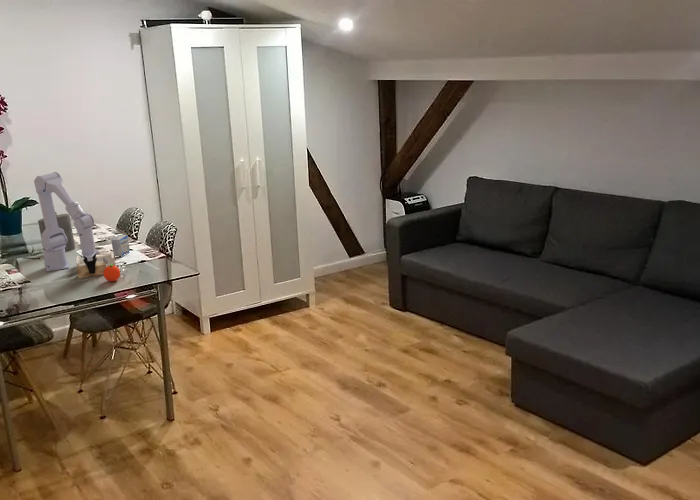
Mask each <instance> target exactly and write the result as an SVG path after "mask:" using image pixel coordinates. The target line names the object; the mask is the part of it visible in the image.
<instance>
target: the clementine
mask: <svg viewBox="0 0 700 500" xmlns="http://www.w3.org/2000/svg"><path fill="white" fill-rule="evenodd" d="M102 276H103V277H104V278H105V280H106V281H108V282H115V281H117V280H118V279H119V278H120V277H121V270H120V268H119V267H118V266H117V265H115V266H114V265H110V266H107V267H106V268H105V269H104V272H103V275H102Z"/></svg>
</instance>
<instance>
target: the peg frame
mask: <svg viewBox="0 0 700 500" xmlns="http://www.w3.org/2000/svg"><path fill="white" fill-rule="evenodd" d="M96 258H97V261H96V263H100V262H105V263H106V267H107V266H110V265H114V266H116V262H115V261H116V260H115V257H114V254H113V250H110V253H109V254H104V255H96ZM83 259H84V257H82V258H80V255H77V256H76V259H75V260H76V267H77V266H81V265H86V264H85V263H84V261H83Z"/></svg>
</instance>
